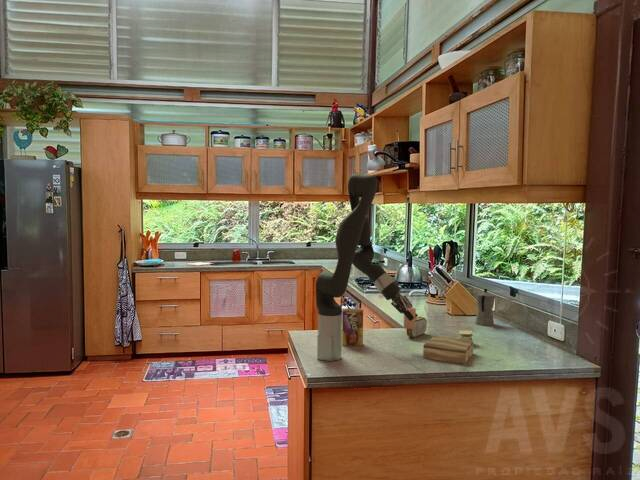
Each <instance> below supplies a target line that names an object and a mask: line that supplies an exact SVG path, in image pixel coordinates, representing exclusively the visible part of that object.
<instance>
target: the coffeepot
mask: <svg viewBox="0 0 640 480" xmlns="http://www.w3.org/2000/svg"><path fill="white" fill-rule="evenodd" d="M483 291H484V292H479V293H476V294H475V298H476V306H477V313H476V316H475V321H474V323H475V324H476V325H479V326H484V327H492V326H494V325H495V321H494V314H493V308H494V304H495V298H496V295H495V294H494V293H490V292H488V289H487V288H483Z"/></svg>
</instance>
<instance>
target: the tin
mask: <svg viewBox="0 0 640 480" xmlns="http://www.w3.org/2000/svg"><path fill="white" fill-rule="evenodd" d="M427 324H428V320H427V319H426V318H425V317H422V316H417V317H416V318H415V329H406V335H407V337H409V338H412V339H414V338H417V337H420V336H423V335H424V334H425V332H426V331H427Z"/></svg>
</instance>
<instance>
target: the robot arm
mask: <svg viewBox="0 0 640 480" xmlns="http://www.w3.org/2000/svg"><path fill="white" fill-rule="evenodd" d="M378 182H379V181H378V178H377V177H376V176H374V175H370V174H360V173H353V174H352V175H350V177H349V178H348V182H347V193H348V198H349V204H350V212H349V214H347V215H346V216H345V217H344V218H342V220H341V221H340V223H339V226H338V229H337V233H336V236H335V248H336V252H337V263H336V267H335V270H334V272H330V271H322V272H320V273H319V275H318V276H317V278H316V281H315V282H316V283H315V303H316V305H315V306H316V308H317V311H318V312H317V315H318V317H317V342H316V343H317V346H316V347H317V348H316V349H317V351H316V353H317V354H316V359H317V360H321V361H327V362H333V361H338V360H340V359H342V346H343V345H342V308H343V307H342V306H341V305H340V304H339V303H338V302H337V301H336V299H335V298H337V299H338V298H341V297H342V296H343V295H344V294H345V293H346V291H347V287H348V284H349V281H350V275H351V271H352V265H353V266H354V267H355V268H356V269H358V270H359V271H360V272H361V273H363V274H364V275H366V276H367V277H368V278H369V280H370V281H371V282H372V283H373V284H374V286H375V288H377V290H378V291H379V293H380V294H381V295H382V296H383V297H384V299H386V301H390V300H391V301H392V302H390V304H391V306H392V307H394V309H396V310H397V312H399V313H400V314H403V316H404V315H405V316H406V317H407V318H408V319H409V320H410V321H411V320H413V319H414V316H413V315H412V314H411V313H410V312H409V311H408V309H407V307H410V308H414V306H413V305H412V303H411V301H410V300H409V298H408V297H407V296H406V295H403V294H401V291H402V288H401V287H400V286H399V285H398V284H397V282H396V281H395V280H394V279H393V277H391V275H390V274H389V273H387V271H386V270H385V269H384V268H383V267H382V265H380V264H379V263H371V262H372V261H373V259H374V257H375V252H374V251H375V250H374V246H373V244H372V240H371V223H370V221H369V219H368V217H367V216H368V213H369V210H370V208H371V207H372V204H373V200H374V199H375V197H376V194H377V191H378V190H377V189H378ZM359 246H360V248H359V249H357V247H359ZM416 317H419V315H418V314H417V313H416V315H415V318H416Z"/></svg>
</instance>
